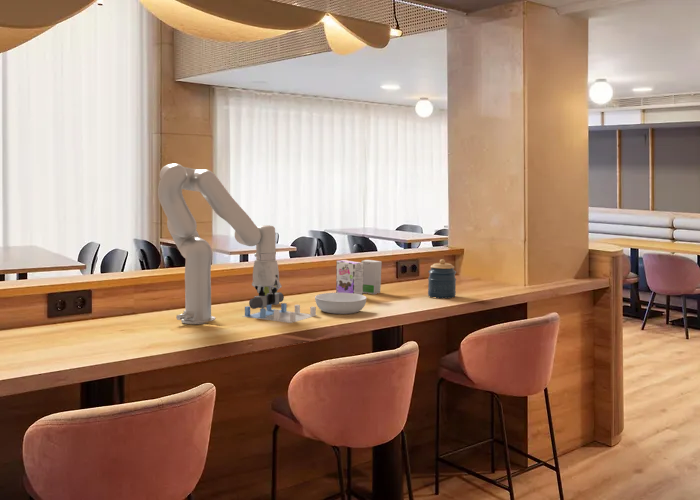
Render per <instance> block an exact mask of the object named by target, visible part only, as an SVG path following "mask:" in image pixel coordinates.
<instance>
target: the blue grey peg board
mask: <svg viewBox="0 0 700 500" xmlns="http://www.w3.org/2000/svg"><path fill="white" fill-rule="evenodd" d="M280 303H281V304H280V306H281V307H280V309H273V308H272V304H271V305H267V307H266V308H259V311H258V312H254V313H251V307H250V305H246V306H244V315H242V317H245V318H251V319H257V320H259V319H260V320H267V321H273V322H280V323H281V322H282V323H287V324H292V323H296V322H299V321H303V320H306V319H309V318H312V317H317V316H318V314H316V313H317V311H316V309H317V306H310V310H309V311H310V313H305V312H304V313H303V312H301V305H300V304H294V311H288V309H287V306H288V305H287V303H288V302H287V303H285V302H280Z"/></svg>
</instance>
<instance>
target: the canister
mask: <svg viewBox="0 0 700 500" xmlns="http://www.w3.org/2000/svg"><path fill="white" fill-rule="evenodd" d="M456 273H457V271H456V270H455V266H454V265H453V264H452V263H448V262H446V260H445V259H444V258H442V259H439V262H436V263H433V264H431V265H430V269H429V270H428V274H429V276H428V277H427V279H428V281H427V282H428V287H427V295H428V297H429V296H430V297H429V298H432V297H436V298H435V299H443V298H445V299H453V298H452V297H454V298H455V297H456V294H457V292H456V290H457V289H456V286H457V284H456V283H457V282H456V281H457V277H456Z"/></svg>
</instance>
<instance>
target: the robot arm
mask: <svg viewBox="0 0 700 500" xmlns="http://www.w3.org/2000/svg"><path fill="white" fill-rule="evenodd" d="M159 179H160V180H159V183H158V186H157V197H158V201H159V204H160V206H161V208H162V210H163V213H164V214H165V216H166V218H167V221H166V227H167V230H168V232H169V234H170V236H171V239H172V240H173V242H174V244H175V246H176V247H177V250H178V251H179V252H180V255H181V256H182V257H183V258H184V259H185V265H184V292H185V295H184V296H185V297H184V298H185V299H184V300H185V301H184V303H185V304H184V306H185V310H183V312H182V313H181V314H177V315H176V320H178V321H180V320H181V321H180V322H181V323H182V324H186V325H187V324H188V325H207V324H208V323H209V322H212V321H215V320H216V316H213V315H212V281H211V280H212V276H211V275H212V271H211V270H212V257H213V251H212V246H211V245H210V243H209V242H208V241H207V240H206V239H204V238H201V237H200V235H199V232H198V230H197V226H198V225H197V221H196V219H195V217H194V215H193V214H192V212H191V210H190V208H189V206H188V204H187V202H186V200H185V197H184V195H183V190H185V191H191V192H199V193H200V195H201V196H202V197H203V198H204V199H205V202H207V203H208V206H210V208H211V209H212V211H213V212H214V213H215V214H216V215H217V216H218V217H219V218H221V219H223V220H224V221H225V222H226V223H227V224H228V225H229V226H230V227H231V228H233V230H234V238H235V240H236V242H237V243H239V244H241V245H243V246H246V247H247V246H248V247H255V250H256V253H254V257H255V258H256V260H254V263H253V267H252V269H253V270H252V282H251V286H252V287H253V288H255V290H256V292H257V293H258V296H265V292H264V287H269V293H270V294H268V301H269V302H268V304H271V305H272V304H274V303H275V293H276V292H277V293H278V291H279V290H280V289H281V288H282V284H281V282H280V272H279V271H280V270H279V263H278V260H277V257H276V255H277V253H276V251H277V250H276V228H275V227H274V225H271V224H270V225H267V224H266V225H265V224H264V225H263V224H262V225H259V226H258V225H256V224H255V222H254V221H253V220H252V218H251V217H250V216H249V214H248V213H247V212H246V211H245V210H244V209H243V208H242V207H241V206H240V204H239V203H238V202H237V201H236V200H235V199H234V198H233V196H232V195H231V193H230V192H228V190H227V188H226V187H225V186H224V184H223V183H222V182H221V180H220V179H219V178H218V176H217V175H216V174H215V173H214V172H213V171H211V170H209V169H197V168H191V167H186V166H183V165H181V164H180V163H169V164H166V165H164V166H163V167H161V169H160V171H159ZM275 286H276V287H275Z"/></svg>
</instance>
